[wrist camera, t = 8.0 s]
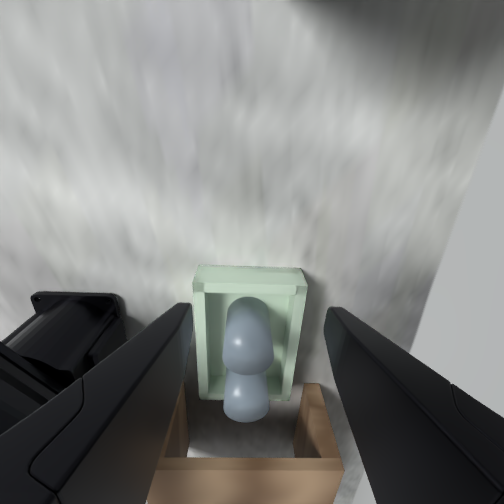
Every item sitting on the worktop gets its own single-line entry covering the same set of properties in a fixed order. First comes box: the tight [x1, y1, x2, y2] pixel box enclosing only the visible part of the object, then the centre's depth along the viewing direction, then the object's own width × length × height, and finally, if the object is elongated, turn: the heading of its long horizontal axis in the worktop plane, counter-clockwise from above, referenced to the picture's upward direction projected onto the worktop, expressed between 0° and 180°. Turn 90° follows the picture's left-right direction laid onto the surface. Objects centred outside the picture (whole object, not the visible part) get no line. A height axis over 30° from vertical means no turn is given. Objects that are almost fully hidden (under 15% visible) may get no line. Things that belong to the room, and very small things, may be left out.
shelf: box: [147, 381, 345, 504], centre depth 24 cm, size 15×10×7 cm, turn 87°
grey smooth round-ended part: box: [223, 367, 269, 422], centre depth 21 cm, size 3×3×4 cm
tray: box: [192, 265, 308, 401], centre depth 21 cm, size 8×12×3 cm, turn 177°
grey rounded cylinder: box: [222, 297, 274, 375], centre depth 19 cm, size 3×3×4 cm
